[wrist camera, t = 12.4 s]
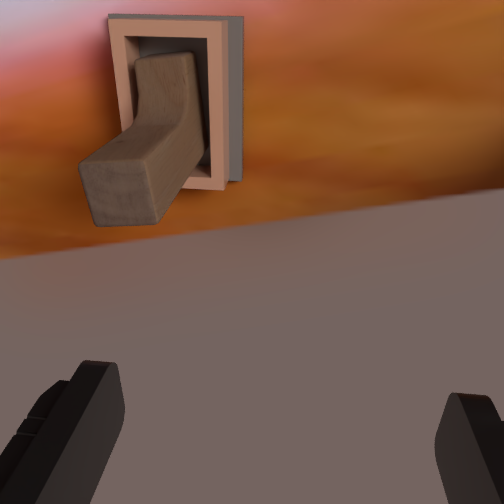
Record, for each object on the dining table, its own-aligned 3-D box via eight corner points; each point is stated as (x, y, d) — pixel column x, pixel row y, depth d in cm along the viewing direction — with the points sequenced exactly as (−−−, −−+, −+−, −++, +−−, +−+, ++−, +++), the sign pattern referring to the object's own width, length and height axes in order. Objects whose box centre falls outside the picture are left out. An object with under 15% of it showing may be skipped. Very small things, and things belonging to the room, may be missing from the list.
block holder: (243, 16, 39) (237, 17, 35) (242, 178, 46) (237, 194, 42) (112, 13, 40) (91, 14, 36) (132, 172, 47) (116, 187, 43)
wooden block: (148, 54, 40) (50, 85, 24) (196, 49, 39) (127, 78, 24) (166, 150, 44) (92, 229, 29) (209, 148, 44) (158, 227, 28)
